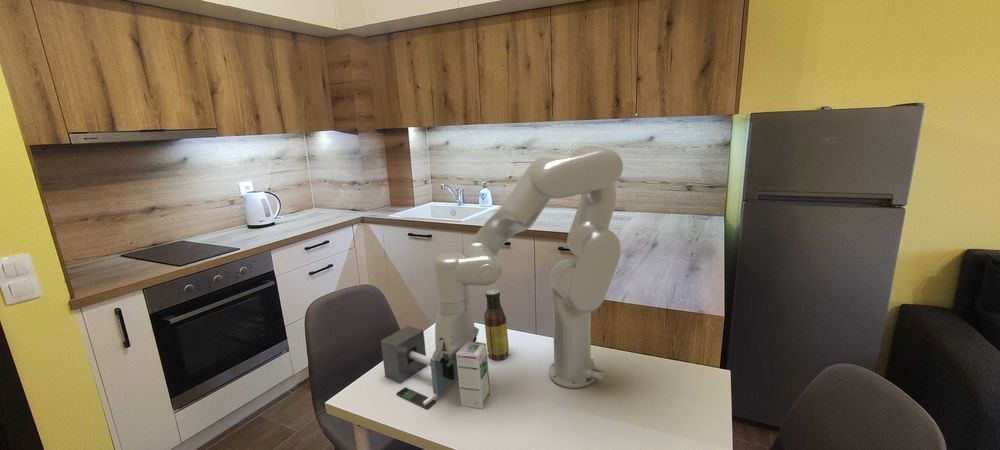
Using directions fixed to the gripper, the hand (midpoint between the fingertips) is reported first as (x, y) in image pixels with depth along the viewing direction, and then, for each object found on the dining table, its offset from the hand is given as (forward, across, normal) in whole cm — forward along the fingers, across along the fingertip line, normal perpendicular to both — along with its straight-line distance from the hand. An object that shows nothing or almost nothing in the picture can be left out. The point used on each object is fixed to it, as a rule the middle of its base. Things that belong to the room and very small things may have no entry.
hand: (459, 370), depth 110 cm
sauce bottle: (+7, -20, -3) cm, 21 cm away
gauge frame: (+7, +2, -13) cm, 15 cm away
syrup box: (+7, 0, +5) cm, 9 cm away
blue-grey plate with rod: (+6, +2, -11) cm, 12 cm away
